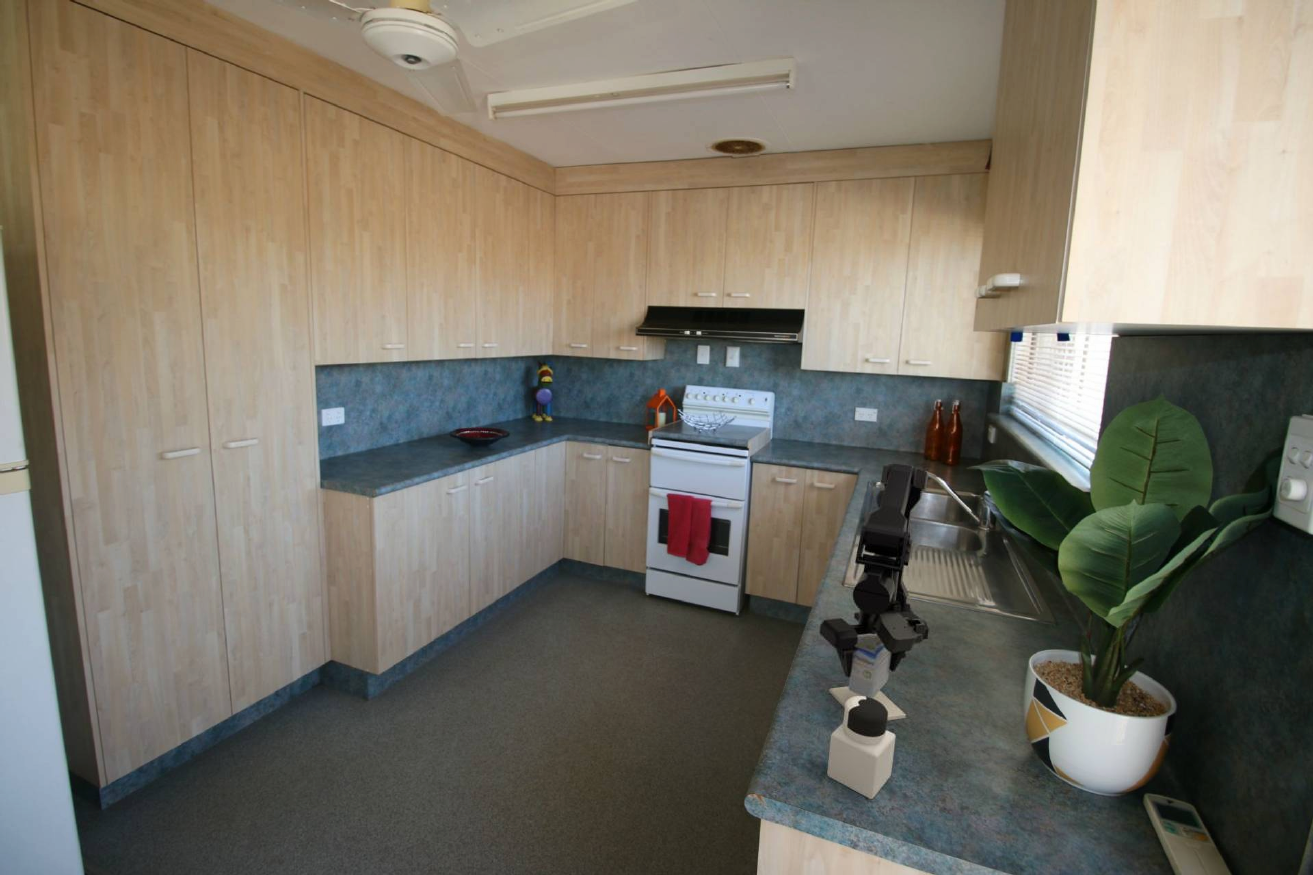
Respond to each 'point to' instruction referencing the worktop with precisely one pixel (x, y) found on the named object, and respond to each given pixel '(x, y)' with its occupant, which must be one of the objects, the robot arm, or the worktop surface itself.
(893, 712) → the mat
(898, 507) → the robot arm
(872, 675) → the medicine box
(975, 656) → the worktop surface
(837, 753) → the medicine bottle
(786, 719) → the worktop surface
